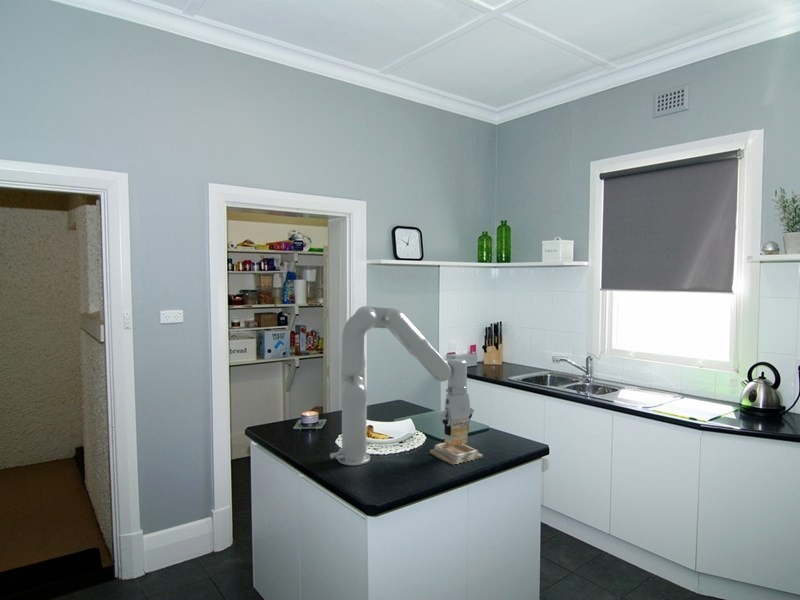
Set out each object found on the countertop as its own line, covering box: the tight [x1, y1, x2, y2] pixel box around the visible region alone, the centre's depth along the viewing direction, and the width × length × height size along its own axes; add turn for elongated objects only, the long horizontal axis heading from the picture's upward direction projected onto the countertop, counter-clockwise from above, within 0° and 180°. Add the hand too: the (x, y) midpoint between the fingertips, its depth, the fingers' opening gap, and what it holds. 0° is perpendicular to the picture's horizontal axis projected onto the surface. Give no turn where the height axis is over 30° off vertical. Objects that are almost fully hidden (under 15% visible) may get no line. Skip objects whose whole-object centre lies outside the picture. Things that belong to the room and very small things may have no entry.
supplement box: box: [444, 414, 469, 446], centre depth 200 cm, size 8×5×13 cm, turn 118°
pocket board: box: [429, 442, 484, 466], centre depth 201 cm, size 15×15×3 cm
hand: (456, 432), depth 200 cm, fingers closed on supplement box, 8 cm apart
